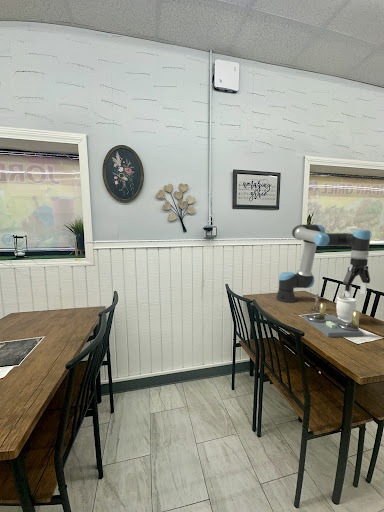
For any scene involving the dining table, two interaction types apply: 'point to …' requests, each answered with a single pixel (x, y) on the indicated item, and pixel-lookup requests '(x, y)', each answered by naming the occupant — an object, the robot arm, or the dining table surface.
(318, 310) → the figurine
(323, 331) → the plate
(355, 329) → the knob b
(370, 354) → the dining table surface
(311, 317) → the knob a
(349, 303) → the jar
